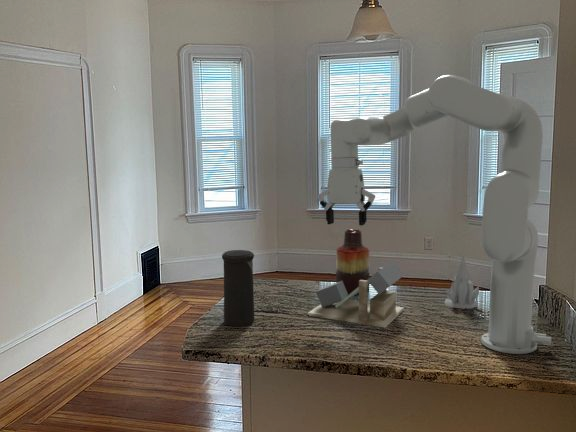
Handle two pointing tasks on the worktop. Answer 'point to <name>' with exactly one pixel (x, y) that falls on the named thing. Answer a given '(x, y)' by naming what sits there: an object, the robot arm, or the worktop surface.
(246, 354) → the worktop surface
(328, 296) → the basalt block
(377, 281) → the trapdoor
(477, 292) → the crystal
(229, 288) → the container
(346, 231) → the vase
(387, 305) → the frame
